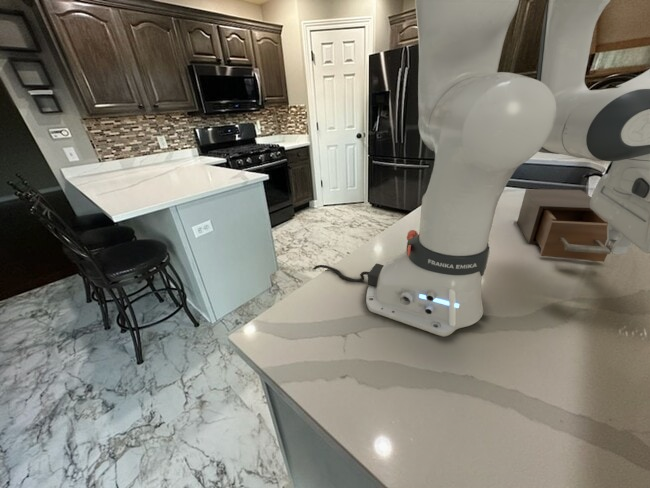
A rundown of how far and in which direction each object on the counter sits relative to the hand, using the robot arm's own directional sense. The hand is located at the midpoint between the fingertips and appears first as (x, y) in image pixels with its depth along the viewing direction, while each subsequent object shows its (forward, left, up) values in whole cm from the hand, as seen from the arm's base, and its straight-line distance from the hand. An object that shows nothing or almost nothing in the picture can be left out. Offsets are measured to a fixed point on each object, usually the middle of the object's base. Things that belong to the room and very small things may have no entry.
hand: (614, 250), depth 47 cm
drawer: (0, +16, -8) cm, 18 cm away
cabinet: (0, +27, -9) cm, 28 cm away
